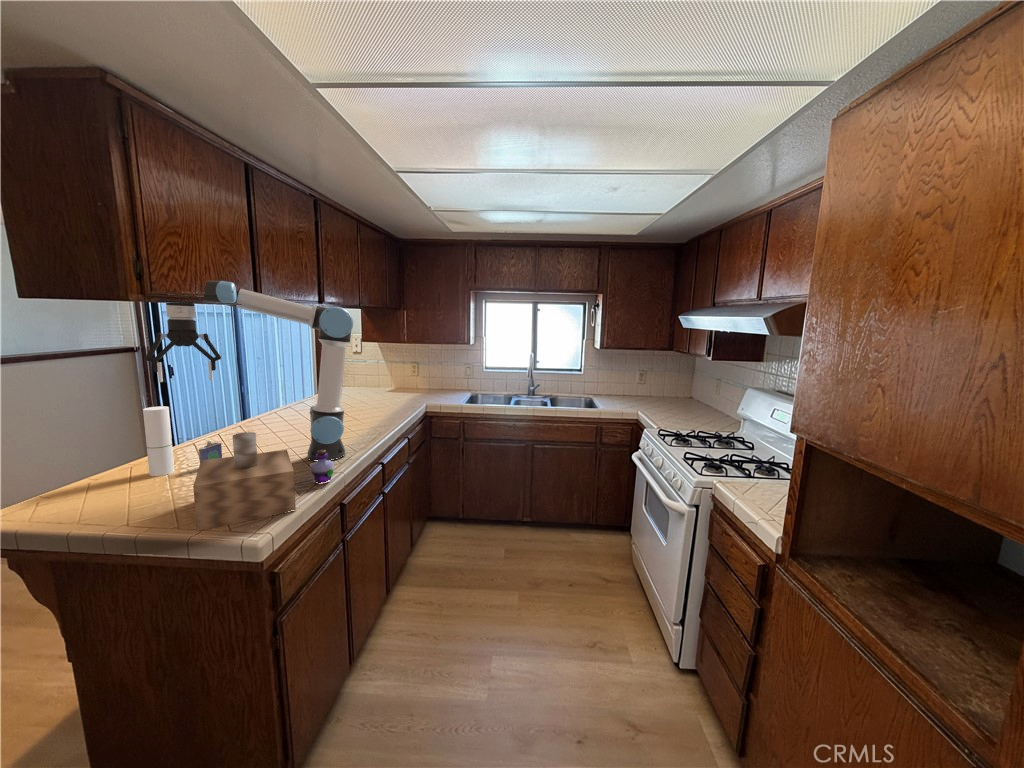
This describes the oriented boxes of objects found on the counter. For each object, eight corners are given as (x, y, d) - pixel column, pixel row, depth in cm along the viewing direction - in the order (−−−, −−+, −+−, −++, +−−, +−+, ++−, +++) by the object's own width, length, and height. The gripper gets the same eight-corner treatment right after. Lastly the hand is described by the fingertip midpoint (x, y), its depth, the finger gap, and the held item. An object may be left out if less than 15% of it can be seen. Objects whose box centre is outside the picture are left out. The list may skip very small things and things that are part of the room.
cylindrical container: (175, 468, 156) (169, 405, 152) (173, 474, 150) (167, 409, 147) (150, 471, 152) (144, 407, 148) (148, 477, 146) (141, 410, 143)
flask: (204, 471, 154) (201, 444, 152) (197, 471, 154) (195, 444, 153) (224, 463, 163) (222, 438, 161) (218, 463, 163) (216, 437, 162)
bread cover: (288, 484, 144) (285, 422, 141) (295, 511, 124) (292, 439, 121) (204, 498, 130) (198, 430, 127) (197, 530, 111) (190, 450, 107)
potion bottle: (330, 486, 143) (329, 454, 142) (305, 486, 143) (304, 454, 141) (339, 477, 152) (338, 447, 150) (315, 477, 151) (314, 446, 150)
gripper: (129, 317, 125) (135, 384, 128) (226, 320, 139) (230, 380, 142) (134, 317, 132) (140, 381, 135) (226, 320, 146) (230, 377, 148)
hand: (186, 380), depth 138 cm, fingers open, 13 cm apart
